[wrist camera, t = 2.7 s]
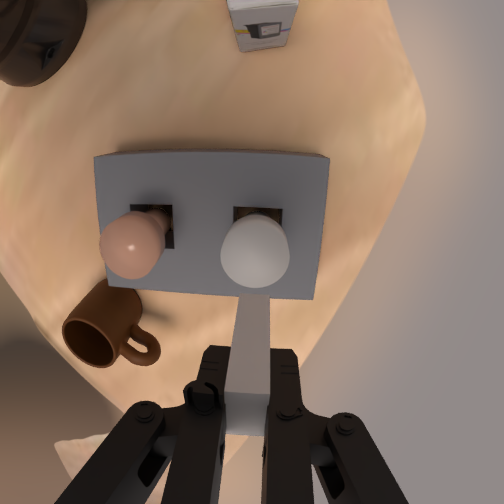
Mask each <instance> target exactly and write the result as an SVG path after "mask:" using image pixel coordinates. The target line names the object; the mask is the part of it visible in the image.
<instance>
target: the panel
mask: <svg viewBox="0 0 504 504" xmlns="http://www.w3.org/2000/svg"><path fill="white" fill-rule="evenodd" d="M329 164H330V158H327V157H325V156H323V155H320V154H311V153H299V152H286V151H269V150H246V149H163V150H141V151H125V152H114V153H110V154H105V155H100V156H96V157H94V172H95V187H96V199H97V210H98V219H99V227H100V235H101V234H102V232H103V230H104V229H105V227H106V226H107V225H109V224H110V223H111V222H113V221H114V220H116V219H117V218H119V217H120V216H122V215H123V214H125V213H127V212H131V211H140V212H144V213H145V212H146V211H148V210H149V204H169V205H172V207H173V230H174V232H169V231H168V232H167V233H166V234H165V249H164V252H163V254H162V256H161V258H160V259H159V260H158V261H157V263H156V264H155V265H154V267H153V268H152V269H151V271H150V272H149V273H148V274H147V275H145V276H144V277H142V278H139V279H126V278H123V277H120V276H118V275H117V274H115V273H114V272H113V271H111V270H110V269H109V267H108V266H107V265H106V264H105V268H106V273H107V279H108V284H109V286H115V287H124V288H134V289H145V290H155V291H167V292H179V293H191V294H205V295H220V296H236V297H239V295H240V293H244V294H262V295H270V298H274V299H299V300H313V297H314V290H315V284H316V277H317V270H318V263H319V256H320V248H321V241H322V233H323V224H324V215H325V206H326V197H327V186H328V176H329ZM238 207H260V208H279V222H278V224H279V225H280V226H281V227H282V229H283V230H284V232H285V235H286V238H287V243H288V248H289V254H290V260H289V265H288V268H287V270H286V272H285V273H284V275H283V276H282V277H281V278H280V279H279V280H278V281H276V282H275V283H273V284H271V285H269V286H266V287H262V288H249V287H245V286H242V285H240V284H238V283H236V282H234V281H233V280H232V279H231V278H230V277H229V276H228V275H227V274H226V272H225V271H224V269H223V267H222V264H221V257H220V254H221V248H222V245H223V242H224V239H225V237H226V234H227V232H228V230H229V228H230V227H231V225H232V224H233V223H234V222H236V221H237V213H238Z"/></svg>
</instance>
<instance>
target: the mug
mask: <svg viewBox="0 0 504 504" xmlns="http://www.w3.org/2000/svg"><path fill="white" fill-rule="evenodd" d="M141 314H142V306H141V302H140V299H139V297H138V296H137V294H136V293H135V291H134V290H133V289H132V288H124V287H115V286H109V284H108V279H107V280H103V281H101V282H100V283H98V284H97V285H96V286H95V287H94V288H93V289H92V290H91V291H90V292H89V293H88V294H87V295H86V296H85V297H84V298H83V299H82V301H81V302H80V303H79V304H78V305H77V306H76V307H75V308H74V309H73V311H72V312H71V313H70V314H69V316H68V317H67V319H66V320H65V321H64V323H63V326H62V335H63V339H64V341H65V343H66V345H67V347H68V348H69V349H70V351H71V352H72V353H73V354H74V355H75V356H76V357H77V358H78V359H80V360H81V361H82V362H84V363H86V364H88V365H90V366H93V367H97V368H107V367H109V366H111V365H113V363H114V362H115V361H116V359H117V358H118V356H119V355H120V354H121V355H122V356H124V357H125V358H126V359H127V360H129V361H130V362H131V363H133V364H136V365H140V366H149V365H152V364H154V363H155V362H156V361H157V360H158V359H159V357H160V354H161V348H160V344H159V342H158V341H157V339H156V338H155V337H154V336H153V335H151V334H150V333H148V332H146V331H144V330H142V329H141V328H140V327H139V326H138V325H137V324H138V322H139V320H140V318H141ZM130 337H131V338H132V339H133V340H134V341H135V342H137V343H139V344H142V345H144V346H145V347H147V350H148V352H147V353H142V352H139V351H137V350H136V349H135V348H133V347H132V346H131V345H129V344H128V343H127V342H128V340H129V338H130Z"/></svg>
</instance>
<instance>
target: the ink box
mask: <svg viewBox="0 0 504 504" xmlns="http://www.w3.org/2000/svg"><path fill="white" fill-rule="evenodd" d="M226 1H227V5H228V9H229V13H230V17H231V21H232V24H233V28H234V32H235V35H236V39H237V42H238V46H239V49H240V51H241V52H246V51H254V50H260V49H266V48H273V47H281V46H285V44H286V42H287V38H288V35H289V32H290V29H291V26H292V22H293V19H294V16H295V13H296V10H297V8H298V4H299V0H226Z"/></svg>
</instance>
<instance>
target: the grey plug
mask: <svg viewBox="0 0 504 504" xmlns="http://www.w3.org/2000/svg"><path fill="white" fill-rule="evenodd" d="M220 257H221V264H222V267H223V269H224V271H225V272H226V274H227V275H228V276H229V277H230V278H231V279H232V280H233V281H234V282H236V283H238V284H240V285H242V286H245V287H249V288H262V287H266V286H269V285H271V284H273V283H275V282H276V281H278V280H279V279H280V278H281V277H282V276H283V275H284V273H285V272H286V270H287V268H288V265H289V260H290V254H289V248H288V243H287V238H286V235H285V232H284V230H283V229H282V227H281V226H280V225H279V224H278V223H277V222H276V221H274V220H273V219H271V217H270V216H269V215H268V214H266V213H265V212H262V211H252V212H250V213H248V214H247V215H246V216H245V217H242V218H240V219H239V220H237V221H236V222H234V223H233V224H232V225H231V227H230V228H229V230H228V232H227V234H226V237H225V239H224V242H223V245H222V248H221V254H220Z"/></svg>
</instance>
